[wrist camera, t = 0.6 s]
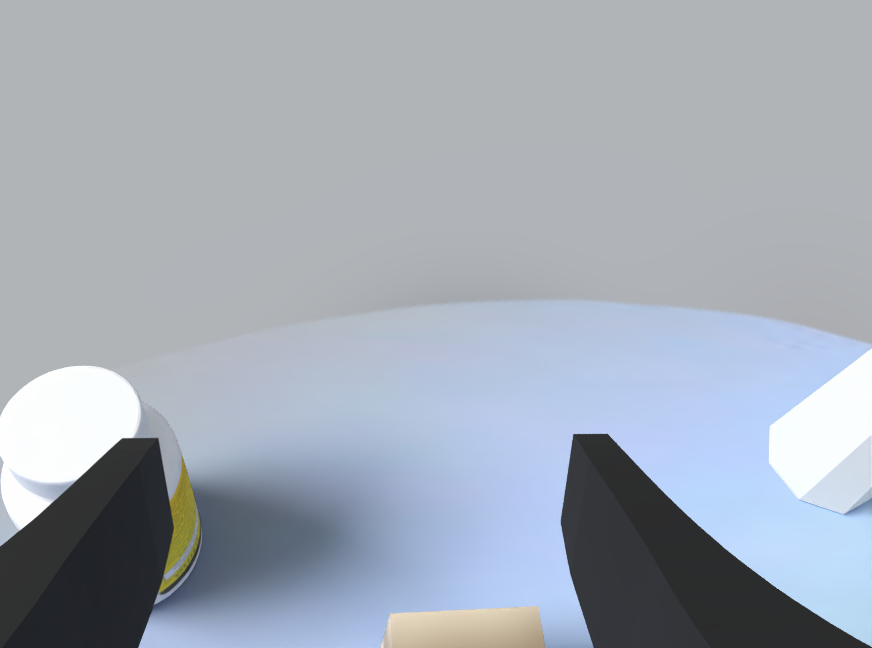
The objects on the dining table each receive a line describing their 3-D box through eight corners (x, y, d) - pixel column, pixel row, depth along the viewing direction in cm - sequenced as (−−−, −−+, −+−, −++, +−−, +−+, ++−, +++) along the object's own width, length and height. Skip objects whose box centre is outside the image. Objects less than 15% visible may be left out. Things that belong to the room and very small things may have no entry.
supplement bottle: (183, 464, 32) (145, 325, 25) (220, 583, 30) (191, 468, 22) (45, 511, 30) (-43, 375, 23) (71, 641, 28) (-18, 539, 20)
